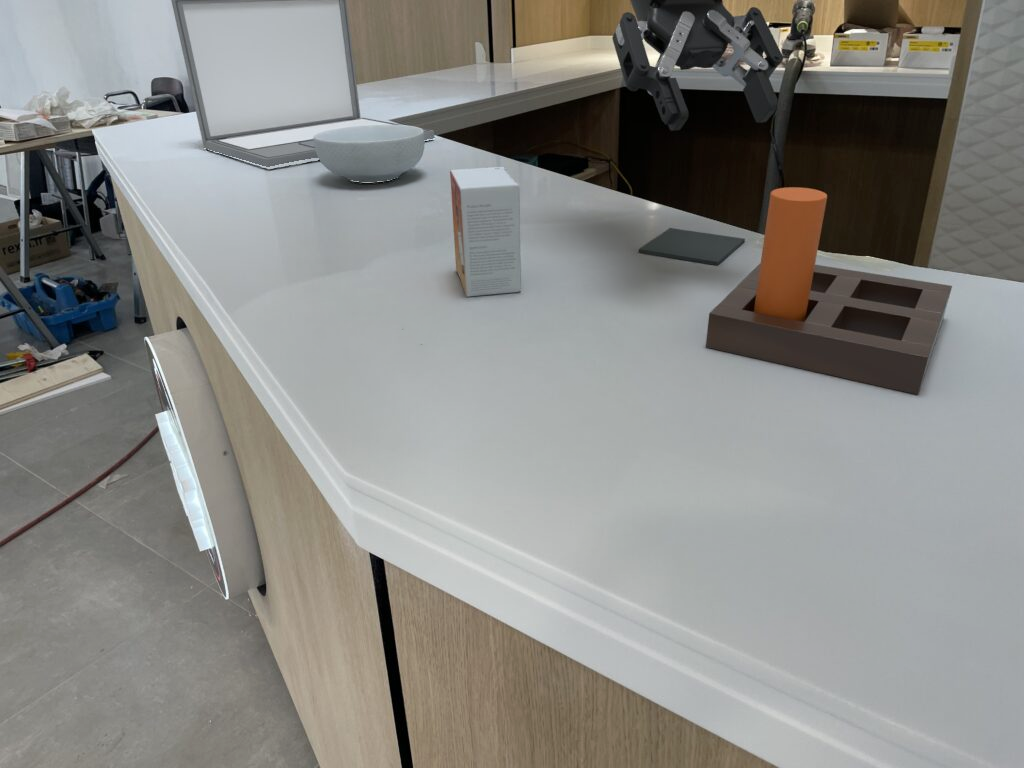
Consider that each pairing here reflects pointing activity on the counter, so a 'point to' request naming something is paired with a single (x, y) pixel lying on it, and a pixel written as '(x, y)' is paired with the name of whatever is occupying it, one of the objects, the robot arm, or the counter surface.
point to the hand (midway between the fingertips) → (725, 120)
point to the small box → (486, 230)
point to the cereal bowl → (370, 151)
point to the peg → (789, 252)
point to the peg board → (840, 327)
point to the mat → (692, 246)
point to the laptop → (269, 75)
